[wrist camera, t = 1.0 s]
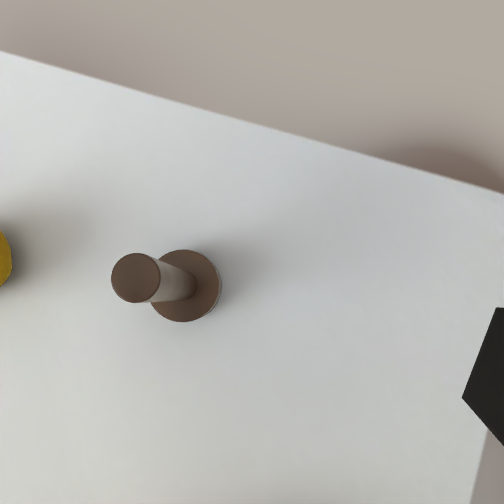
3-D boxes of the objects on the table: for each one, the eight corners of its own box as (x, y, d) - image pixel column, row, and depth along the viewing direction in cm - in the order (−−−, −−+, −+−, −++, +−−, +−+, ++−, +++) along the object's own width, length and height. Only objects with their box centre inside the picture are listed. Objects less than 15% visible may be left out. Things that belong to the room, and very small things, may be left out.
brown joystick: (211, 245, 36) (180, 201, 19) (228, 309, 36) (212, 321, 19) (147, 263, 36) (59, 234, 19) (164, 327, 36) (89, 356, 19)
